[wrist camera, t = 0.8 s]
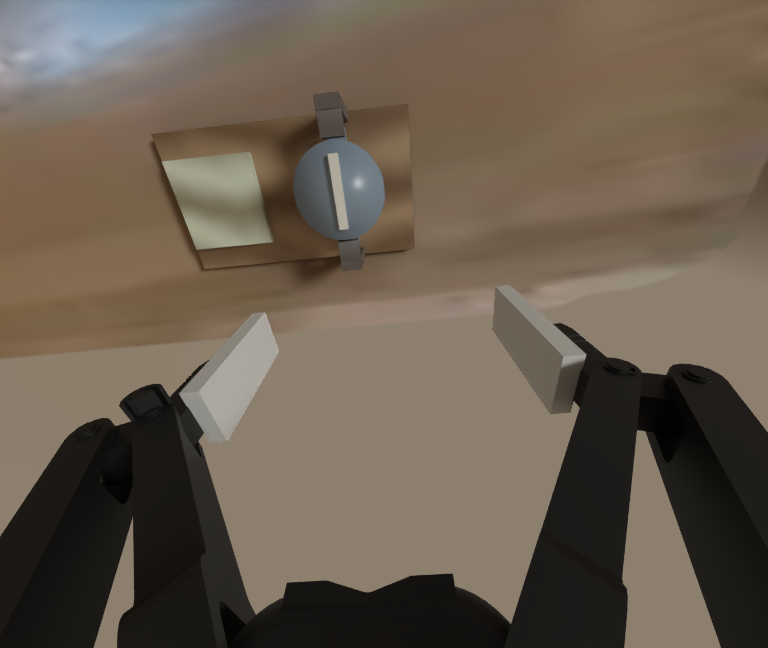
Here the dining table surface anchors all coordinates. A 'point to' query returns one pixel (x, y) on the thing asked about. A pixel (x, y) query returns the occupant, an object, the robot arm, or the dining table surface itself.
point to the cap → (339, 189)
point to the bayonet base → (284, 185)
